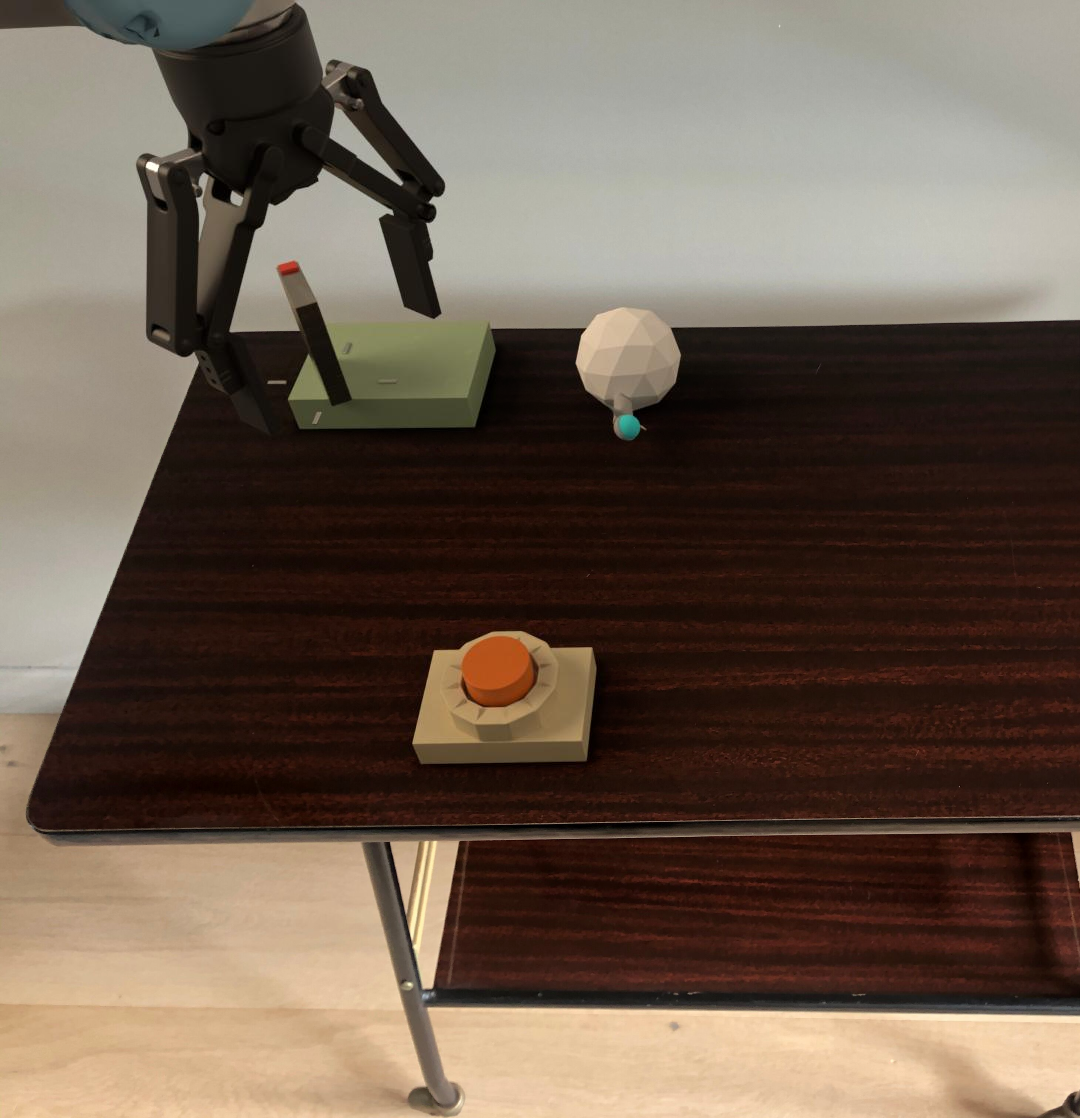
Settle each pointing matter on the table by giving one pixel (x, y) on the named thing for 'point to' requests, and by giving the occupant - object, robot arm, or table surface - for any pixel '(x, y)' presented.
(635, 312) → the perfume bottle
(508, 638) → the button
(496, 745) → the box
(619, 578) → the table surface
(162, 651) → the table surface
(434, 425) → the clamp block
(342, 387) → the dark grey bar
